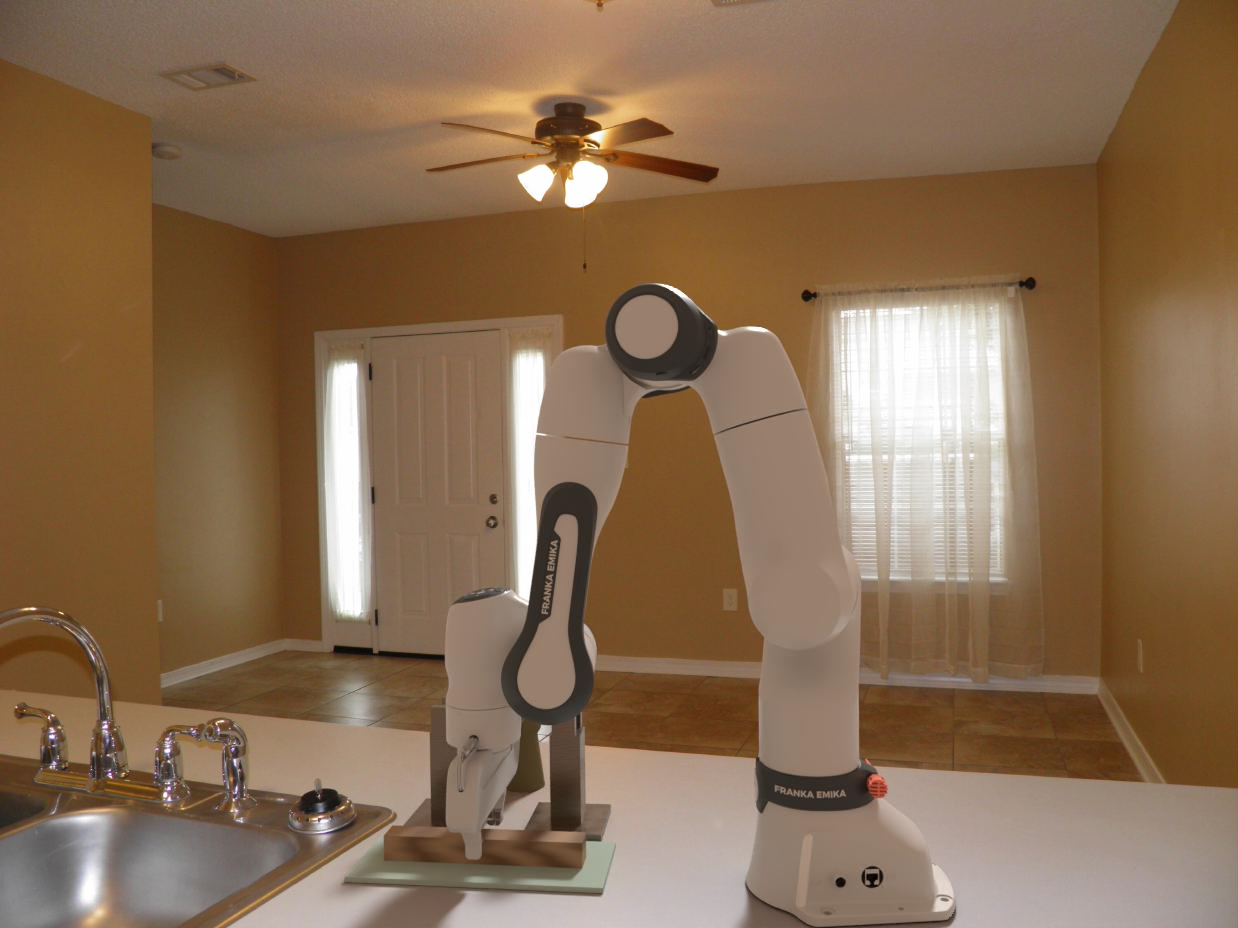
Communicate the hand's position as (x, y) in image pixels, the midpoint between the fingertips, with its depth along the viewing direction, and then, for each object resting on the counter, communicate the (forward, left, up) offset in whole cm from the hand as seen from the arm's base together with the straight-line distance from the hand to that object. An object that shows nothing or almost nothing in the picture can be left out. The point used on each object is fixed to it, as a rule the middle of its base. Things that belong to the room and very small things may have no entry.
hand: (485, 839), depth 110 cm
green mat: (0, 0, -3) cm, 3 cm away
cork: (+1, -26, -3) cm, 26 cm away
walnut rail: (0, 0, -2) cm, 2 cm away
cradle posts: (0, -12, -3) cm, 12 cm away
